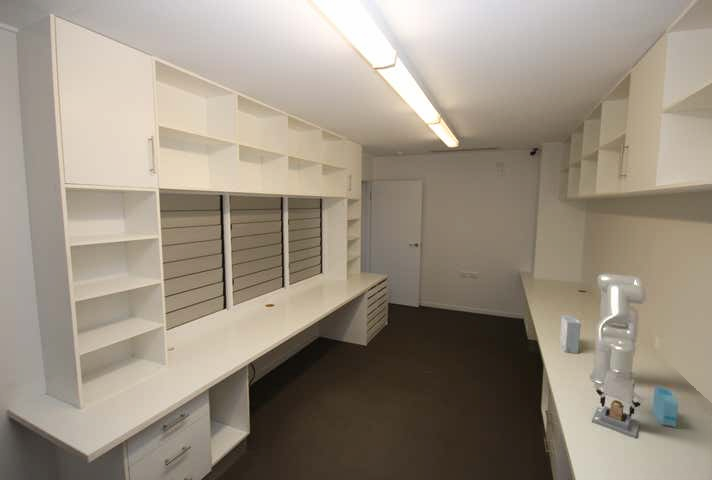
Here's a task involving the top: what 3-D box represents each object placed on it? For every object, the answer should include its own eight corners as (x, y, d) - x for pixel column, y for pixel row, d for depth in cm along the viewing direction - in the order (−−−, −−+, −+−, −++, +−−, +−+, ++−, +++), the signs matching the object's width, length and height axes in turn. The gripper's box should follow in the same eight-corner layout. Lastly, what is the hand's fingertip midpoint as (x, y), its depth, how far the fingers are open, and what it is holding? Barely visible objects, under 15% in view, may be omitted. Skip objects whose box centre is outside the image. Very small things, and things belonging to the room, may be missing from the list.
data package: (676, 428, 147) (679, 402, 145) (662, 426, 148) (665, 399, 147) (664, 412, 157) (667, 388, 156) (651, 410, 159) (654, 386, 158)
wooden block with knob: (611, 416, 153) (612, 398, 152) (622, 420, 150) (624, 402, 149) (609, 420, 150) (610, 402, 149) (620, 424, 147) (622, 406, 146)
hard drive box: (578, 354, 217) (581, 323, 215) (564, 352, 220) (567, 322, 217) (572, 344, 232) (574, 315, 230) (559, 342, 234) (561, 314, 232)
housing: (597, 409, 160) (598, 402, 160) (639, 423, 150) (639, 416, 149) (591, 422, 151) (592, 414, 150) (635, 438, 140) (636, 430, 140)
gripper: (647, 376, 144) (643, 414, 146) (597, 363, 156) (594, 398, 158) (645, 383, 139) (641, 423, 141) (594, 368, 151) (591, 405, 153)
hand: (616, 410), depth 150 cm, fingers open, 9 cm apart
